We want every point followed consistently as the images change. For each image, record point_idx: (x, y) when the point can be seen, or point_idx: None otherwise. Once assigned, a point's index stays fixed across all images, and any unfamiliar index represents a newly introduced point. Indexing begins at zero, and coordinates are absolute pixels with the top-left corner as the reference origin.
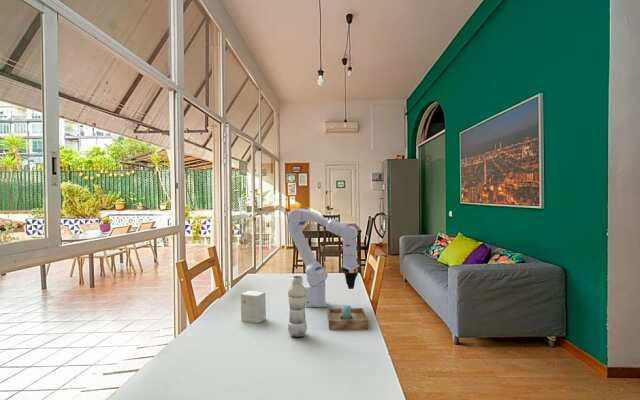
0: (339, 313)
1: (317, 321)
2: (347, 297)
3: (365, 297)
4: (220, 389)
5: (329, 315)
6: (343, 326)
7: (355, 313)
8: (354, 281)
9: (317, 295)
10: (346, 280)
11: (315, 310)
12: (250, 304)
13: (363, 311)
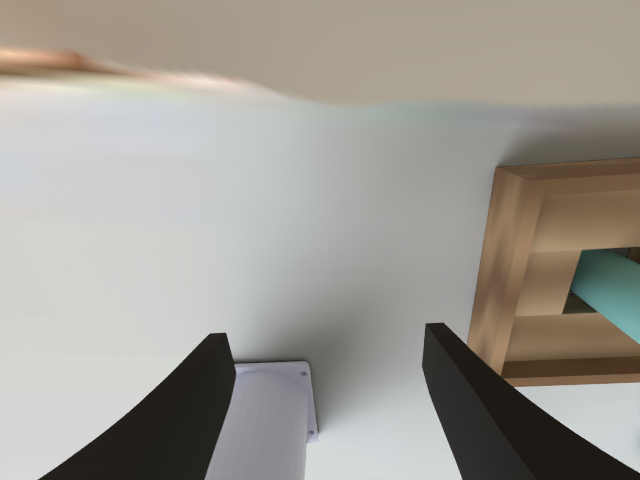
0: (517, 317)
1: (528, 386)
2: (70, 250)
3: (12, 111)
4: None
5: (619, 378)
6: None
7: (544, 227)
8: (521, 396)
9: (304, 458)
10: (222, 420)
11: (362, 399)
12: None
13: (621, 179)
